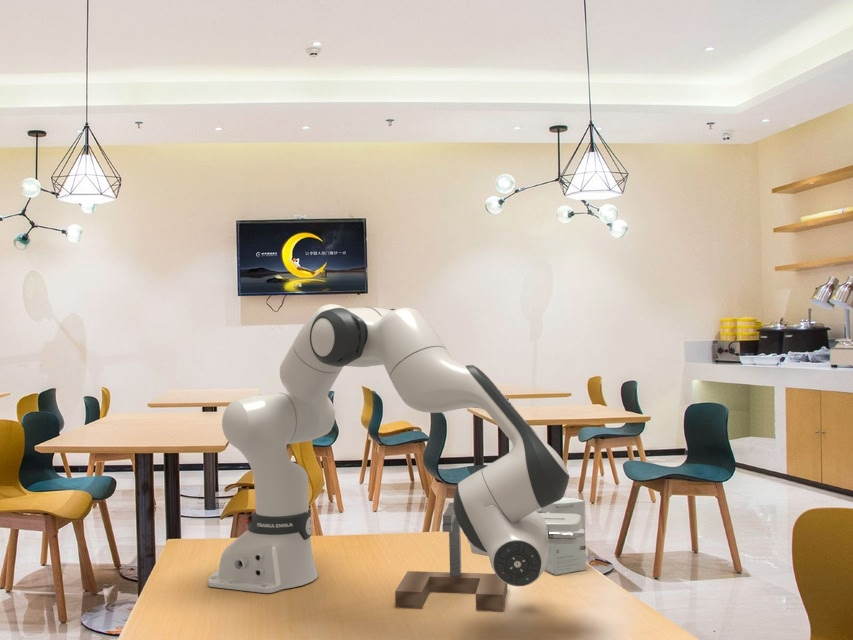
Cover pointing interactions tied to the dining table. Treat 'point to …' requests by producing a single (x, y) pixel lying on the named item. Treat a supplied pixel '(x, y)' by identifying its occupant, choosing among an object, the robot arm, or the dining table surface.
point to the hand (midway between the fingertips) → (524, 515)
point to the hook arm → (453, 540)
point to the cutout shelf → (451, 589)
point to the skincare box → (567, 555)
